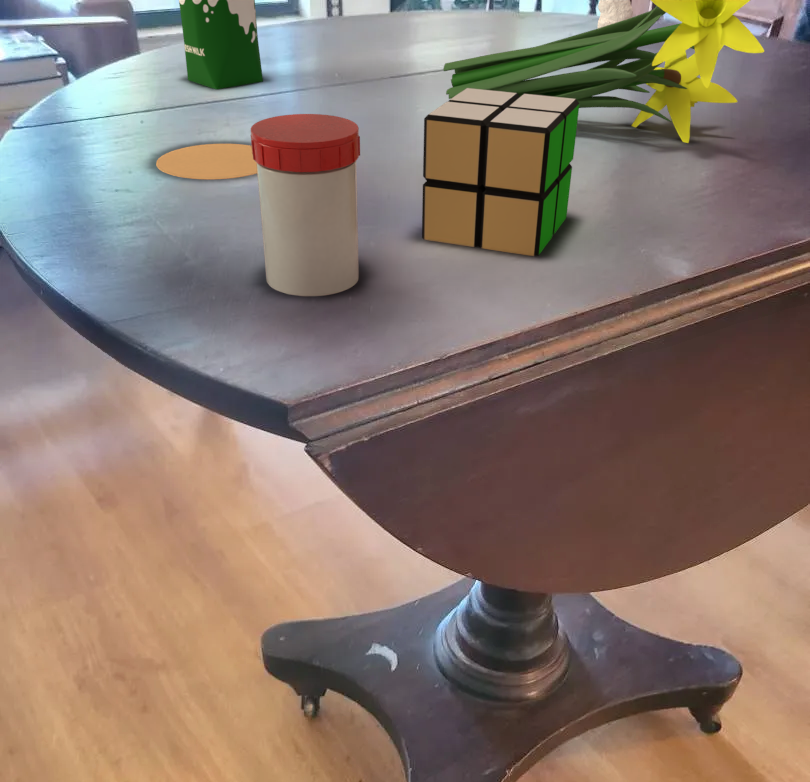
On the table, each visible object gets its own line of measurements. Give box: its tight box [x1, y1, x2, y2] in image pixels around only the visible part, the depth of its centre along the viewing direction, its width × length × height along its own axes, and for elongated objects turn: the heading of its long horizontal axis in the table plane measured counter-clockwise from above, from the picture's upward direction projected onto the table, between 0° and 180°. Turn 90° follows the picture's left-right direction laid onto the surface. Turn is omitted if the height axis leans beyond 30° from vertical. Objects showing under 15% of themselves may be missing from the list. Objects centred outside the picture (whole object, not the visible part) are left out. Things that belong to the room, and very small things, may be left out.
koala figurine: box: [597, 0, 634, 29], centre depth 139 cm, size 8×7×12 cm
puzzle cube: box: [421, 88, 580, 257], centre depth 77 cm, size 10×10×10 cm
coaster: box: [155, 143, 257, 180], centre depth 94 cm, size 12×12×1 cm
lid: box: [250, 113, 361, 172], centre depth 65 cm, size 7×7×2 cm
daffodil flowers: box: [442, 0, 765, 144], centre depth 100 cm, size 17×15×35 cm
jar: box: [256, 160, 360, 297], centre depth 68 cm, size 7×7×11 cm
